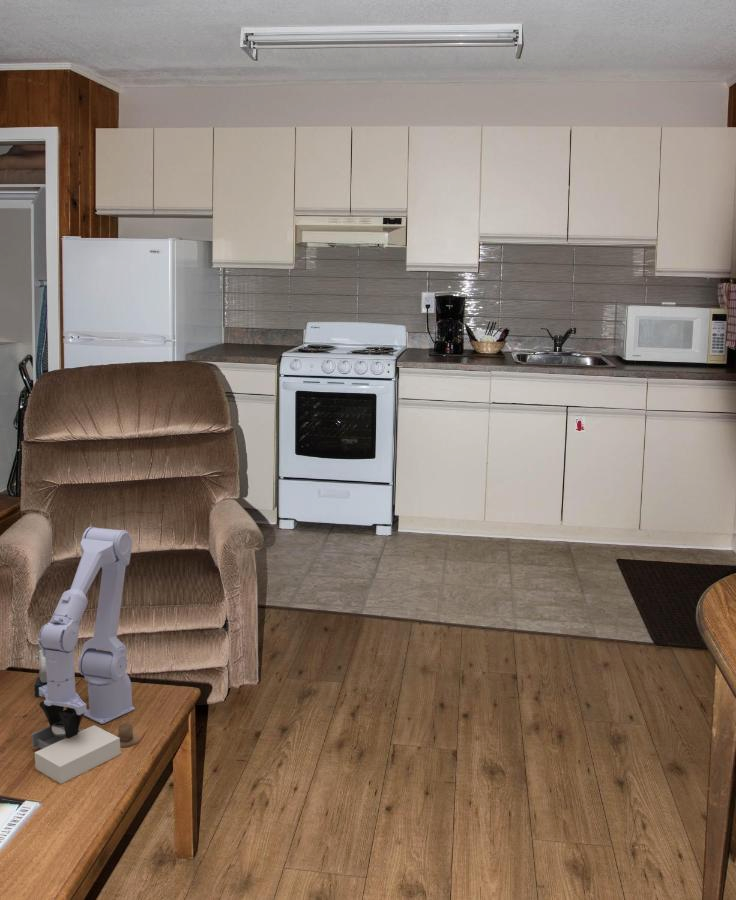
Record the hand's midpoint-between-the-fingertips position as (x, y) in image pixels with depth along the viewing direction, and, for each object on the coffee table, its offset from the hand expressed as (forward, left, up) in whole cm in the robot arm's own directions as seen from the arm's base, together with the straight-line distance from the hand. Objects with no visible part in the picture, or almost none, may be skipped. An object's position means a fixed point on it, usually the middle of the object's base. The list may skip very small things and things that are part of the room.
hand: (64, 734), depth 206 cm
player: (+2, +7, -3) cm, 8 cm away
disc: (0, 0, +1) cm, 1 cm away
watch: (-13, -26, -3) cm, 29 cm away
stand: (-10, +8, -3) cm, 13 cm away
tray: (0, 0, -2) cm, 2 cm away
